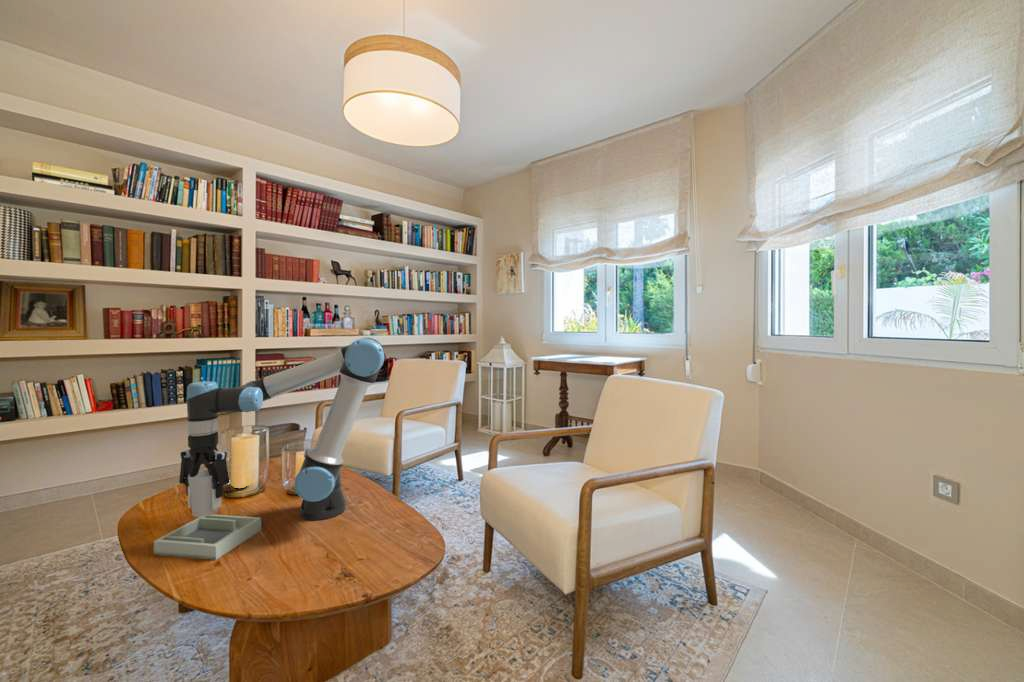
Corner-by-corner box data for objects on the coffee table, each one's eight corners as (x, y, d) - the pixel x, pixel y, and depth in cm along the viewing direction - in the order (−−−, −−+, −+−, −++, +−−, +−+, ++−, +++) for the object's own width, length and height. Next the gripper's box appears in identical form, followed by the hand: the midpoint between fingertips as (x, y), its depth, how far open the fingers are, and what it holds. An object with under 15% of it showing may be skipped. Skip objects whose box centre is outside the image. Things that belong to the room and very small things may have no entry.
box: (261, 529, 140) (261, 517, 140) (216, 559, 123) (215, 546, 122) (206, 525, 143) (205, 513, 143) (154, 554, 125) (153, 541, 125)
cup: (226, 507, 136) (226, 469, 136) (206, 518, 128) (205, 478, 128) (203, 506, 137) (202, 468, 136) (181, 517, 129) (180, 477, 129)
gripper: (242, 431, 134) (244, 504, 135) (184, 428, 137) (186, 499, 138) (223, 437, 126) (224, 514, 127) (162, 434, 129) (164, 510, 130)
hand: (204, 506), depth 133 cm, fingers closed on cup, 7 cm apart
